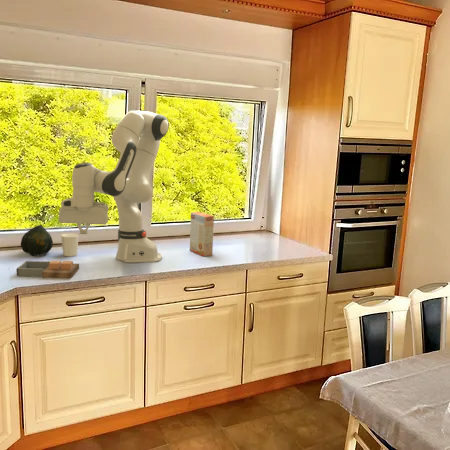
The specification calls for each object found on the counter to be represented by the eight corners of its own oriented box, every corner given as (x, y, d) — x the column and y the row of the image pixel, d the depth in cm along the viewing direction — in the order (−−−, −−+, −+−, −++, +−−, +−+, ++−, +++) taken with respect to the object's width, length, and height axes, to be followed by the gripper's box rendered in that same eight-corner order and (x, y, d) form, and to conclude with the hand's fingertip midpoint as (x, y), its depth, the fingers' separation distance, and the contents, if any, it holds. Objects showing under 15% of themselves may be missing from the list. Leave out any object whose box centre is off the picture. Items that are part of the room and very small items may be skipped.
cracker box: (213, 255, 248) (214, 215, 244) (203, 257, 245) (204, 216, 241) (199, 249, 259) (200, 211, 255) (189, 250, 256) (190, 212, 252)
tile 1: (61, 266, 210) (61, 260, 210) (58, 269, 206) (58, 263, 206) (52, 266, 210) (51, 260, 210) (49, 268, 206) (49, 263, 206)
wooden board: (79, 268, 216) (79, 263, 216) (71, 278, 202) (71, 272, 202) (52, 268, 215) (51, 263, 215) (42, 277, 202) (42, 272, 201)
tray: (51, 269, 214) (51, 261, 214) (43, 277, 203) (42, 269, 202) (26, 268, 213) (26, 260, 213) (16, 276, 202) (16, 268, 201)
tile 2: (72, 266, 211) (72, 261, 210) (70, 269, 207) (70, 263, 206) (63, 266, 210) (63, 260, 210) (61, 269, 206) (61, 263, 206)
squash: (15, 248, 226) (37, 223, 228) (15, 242, 240) (35, 219, 242) (40, 265, 232) (61, 241, 234) (38, 259, 245) (58, 236, 248)
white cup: (81, 254, 241) (81, 234, 239) (70, 257, 234) (70, 237, 232) (69, 251, 244) (69, 232, 242) (58, 255, 237) (57, 235, 235)
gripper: (109, 201, 207) (109, 233, 210) (61, 199, 206) (61, 231, 208) (107, 203, 201) (107, 236, 203) (57, 201, 199) (57, 234, 202)
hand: (83, 233), depth 206 cm, fingers closed
